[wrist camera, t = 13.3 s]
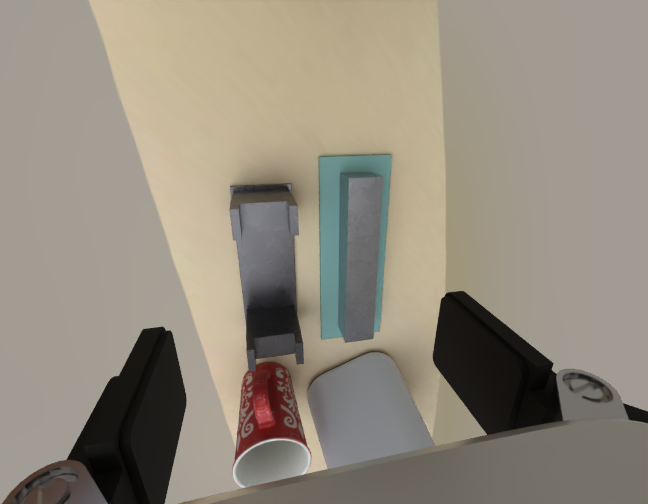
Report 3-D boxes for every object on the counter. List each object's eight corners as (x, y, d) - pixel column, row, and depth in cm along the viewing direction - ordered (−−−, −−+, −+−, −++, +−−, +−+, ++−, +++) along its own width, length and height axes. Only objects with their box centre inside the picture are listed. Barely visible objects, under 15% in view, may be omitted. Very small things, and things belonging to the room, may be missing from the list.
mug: (299, 397, 52) (314, 483, 40) (241, 409, 50) (238, 501, 38) (292, 332, 47) (306, 407, 35) (227, 343, 46) (219, 425, 33)
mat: (318, 156, 39) (319, 157, 38) (389, 154, 40) (391, 155, 40) (320, 337, 48) (321, 339, 48) (378, 329, 50) (379, 331, 50)
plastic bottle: (409, 400, 58) (534, 621, 32) (331, 438, 57) (397, 692, 32) (384, 339, 51) (516, 555, 26) (297, 381, 51) (345, 643, 25)
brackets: (230, 186, 38) (224, 204, 30) (290, 183, 39) (301, 200, 31) (246, 329, 45) (246, 375, 37) (296, 323, 47) (306, 366, 39)
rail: (339, 172, 39) (348, 178, 36) (371, 171, 40) (383, 176, 36) (337, 325, 48) (345, 342, 44) (364, 322, 48) (373, 338, 45)
